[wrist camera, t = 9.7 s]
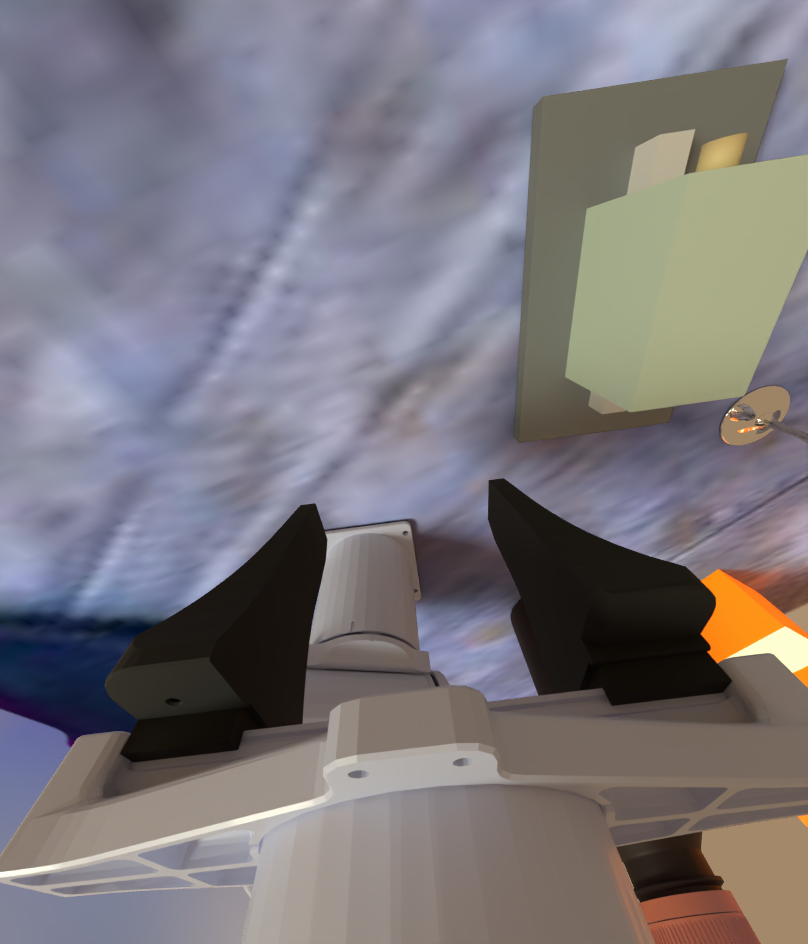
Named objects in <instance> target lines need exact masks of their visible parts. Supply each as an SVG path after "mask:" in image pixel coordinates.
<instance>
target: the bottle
mask: <svg viewBox="0 0 808 944" xmlns="http://www.w3.org/2000/svg"><path fill="white" fill-rule="evenodd" d="M511 622H512V625H513V628H514V631H515V634H516V636H517V639H518V642H519V644H520V647H521V650H522V652H523V655H524V658H525V660H526V663H527V666H528V668H529V671H530V674H531V677H532V679H533V682H534V685H535V687H536V690H537V693H538V695H539V696H540V695H549V694H552V690H551V687H550V684H549V680H548V677H547V673H546V670H545V667H544V664H543V661H542V657H541V654H540V651H539V648H538V645H537V642H536V639H535V636H534V633H533V630H532V627H531V624H530V621H529V618H528V615H527V612H526V609H525V606H524V604H523V601H522V599H521V600H519V601H518V603H517V604H516V605H515V606H514V607H513V609H512V612H511ZM701 839H702V831H701V832H696V833H690V834H685V835H679V836H674V837H668V838H663V839H657V840H652V841H646V842H641V843H635V844H630V845H624V846H619V847H616V848H617V850H618V853H619V855H620V858H621V860H622V862H623V863H624V865H625V867H626V869H627V872H628V874H629V877H630V879H631V882H632V884H633V886H634V889H633V890H634V892H635V895H636V897H637V899H639V901H640V903H639V904H640V907H641V909H642V912H643V914H644V917H645V919H646V922H647V924H648V927H649V929H650V932H651V934H652V936H653V939H654V941H655V944H760V942H759V940H758V939H757V937H756V935H755V933H754V931H753V930H752V928H751V926H750V924H749V922H748V921H747V919H746V917H745V916H744V914H743V913H742V911H741V909H740V907H739V906H738V904H737V902H736V900H735V898H734V897H733V895H732V893H731V892H730V891H726V890H722V888H721V886H722V884H723V883H724V881H723V880H722V878H721V877H720V876H715V875H714V874H713V872H712V870H711V868H710V866H709V865H708V863H707V861H706V859H705V858H704V856H703V854H702V852H701Z"/></svg>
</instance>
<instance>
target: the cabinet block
mask: <svg viewBox="0 0 808 944" xmlns="http://www.w3.org/2000/svg"><path fill="white" fill-rule="evenodd" d="M748 134H749V133H740V134H735V135H731V136H727V137H723V138H720V139H716V140H713V141H711V142H708V143H706V144H704V145H702V148H701V152H700V156H699V160H698V164H697V168H696V172H694V173H689V174H686V175H683V176H680V177H677V178H674V179H671V180H668V181H666V182H663V183H660V184H657V185H654V186H651V187H648V188H645V189H642V190H639V191H637V192H634V193H631V194H628V195H625V196H622V197H619V198H616V199H613V200H611V201H608V202H605V203H602V204H599V205H596V206H593V207H590V208H587V210H586V218H585V226H584V234H583V241H582V249H581V257H580V264H579V272H578V280H577V288H576V295H575V303H574V311H573V319H572V326H571V334H570V342H569V350H568V357H567V365H566V373H565V377H566V378H568V379H570V380H571V381H573V382H575V383H577V384H579V385H581V386H582V387H584V388H586V389H588V390H590V391H592V392H594V393H595V394H597V395H599V396H601V397H603V398H605V399H606V400H608V401H610V402H612V403H614V404H616V405H618V406H619V407H621V408H623V409H625V410H627V411H629V412H637V411H644V410H651V409H658V408H665V407H672V406H679V405H686V404H693V403H700V402H707V401H714V400H721V399H728V398H735V397H742V396H745V393H746V391H747V389H748V386H749V384H750V382H751V379H752V377H753V375H754V373H755V370H756V368H757V366H758V363H759V361H760V359H761V356H762V354H763V352H764V349H765V347H766V345H767V342H768V340H769V338H770V335H771V333H772V331H773V328H774V326H775V324H776V322H777V319H778V317H779V315H780V312H781V310H782V308H783V305H784V303H785V301H786V298H787V296H788V294H789V291H790V289H791V287H792V284H793V282H794V280H795V278H796V275H797V273H798V271H799V268H800V266H801V264H802V261H803V259H804V257H805V254H806V252H807V250H808V155H802V156H796V157H789V158H783V159H777V160H770V161H764V162H757V163H751V164H745V165H739V163H740V160H741V157H742V153H743V150H744V147H745V144H746V140H747V137H748Z"/></svg>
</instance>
